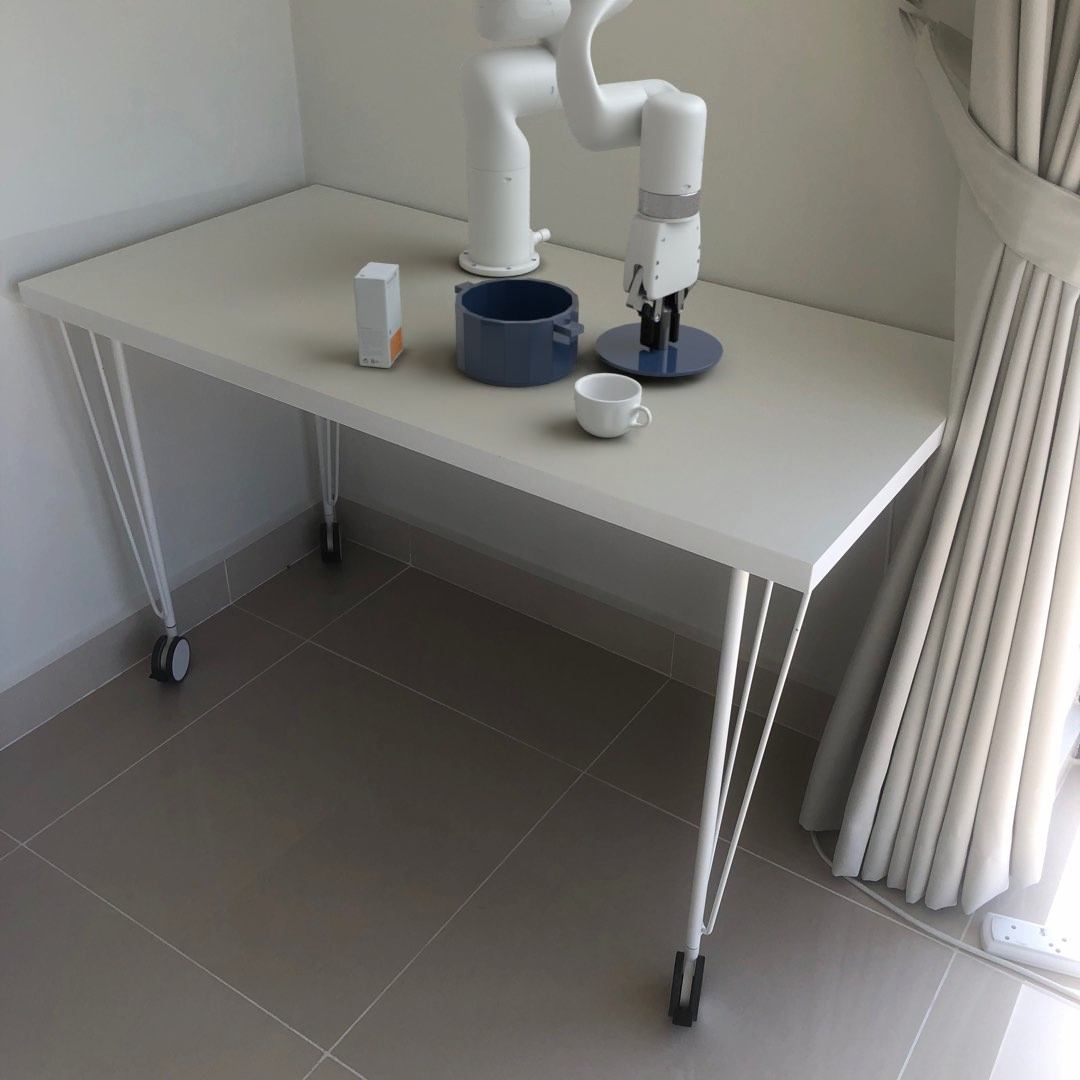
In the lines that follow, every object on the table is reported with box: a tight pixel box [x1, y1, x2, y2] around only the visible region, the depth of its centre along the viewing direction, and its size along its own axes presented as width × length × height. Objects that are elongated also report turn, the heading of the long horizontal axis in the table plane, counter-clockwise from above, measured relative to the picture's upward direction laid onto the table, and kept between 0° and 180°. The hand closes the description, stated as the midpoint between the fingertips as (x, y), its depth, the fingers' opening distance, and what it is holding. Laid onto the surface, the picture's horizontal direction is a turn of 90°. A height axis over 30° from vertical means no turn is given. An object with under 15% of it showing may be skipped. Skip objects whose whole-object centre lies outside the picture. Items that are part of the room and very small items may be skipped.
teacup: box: [573, 372, 653, 439], centre depth 135 cm, size 10×8×5 cm
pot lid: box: [594, 305, 724, 378], centre depth 150 cm, size 17×17×6 cm
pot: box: [454, 277, 585, 388], centre depth 150 cm, size 16×21×8 cm
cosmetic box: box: [353, 261, 404, 369], centre depth 150 cm, size 6×4×12 cm
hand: (658, 342), depth 151 cm, fingers closed on pot lid, 2 cm apart
